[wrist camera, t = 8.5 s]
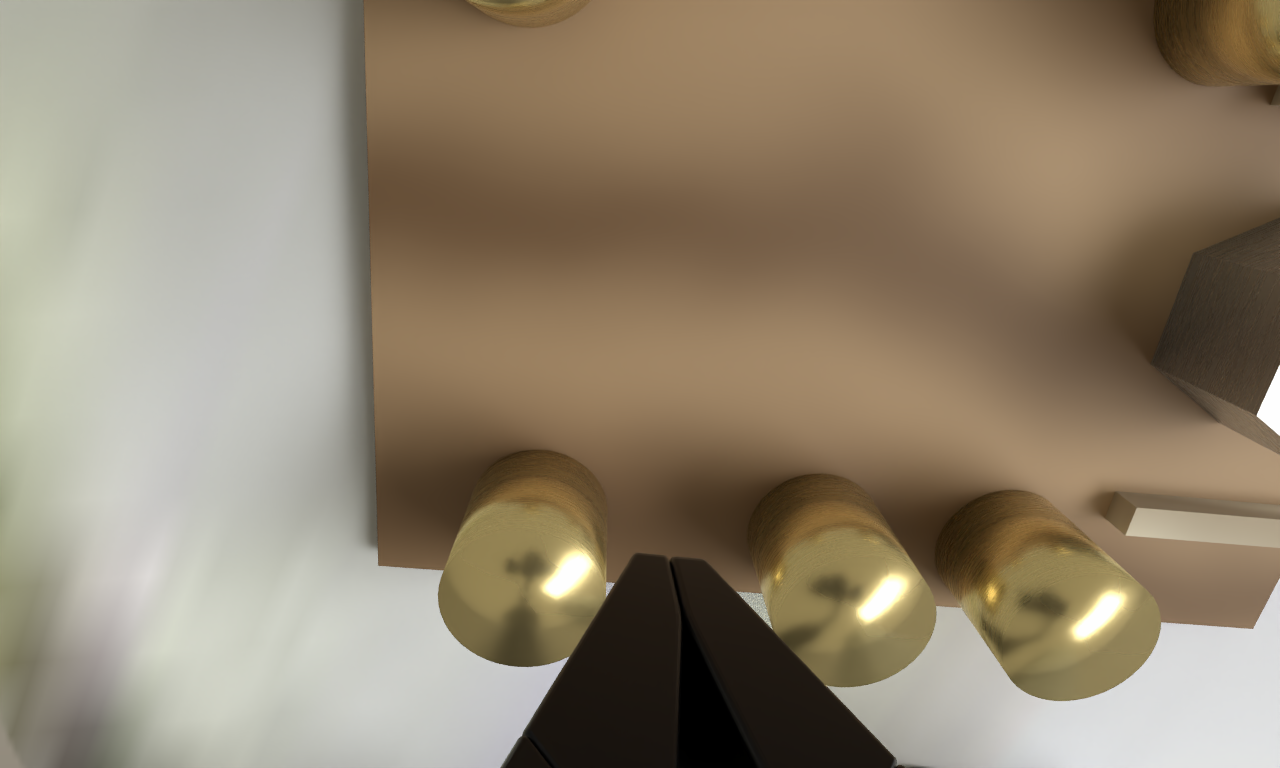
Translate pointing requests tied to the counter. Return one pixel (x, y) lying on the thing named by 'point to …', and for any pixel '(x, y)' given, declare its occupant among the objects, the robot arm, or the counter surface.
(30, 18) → the counter surface
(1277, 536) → the walnut board
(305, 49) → the counter surface
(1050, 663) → the brass spacers
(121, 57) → the counter surface
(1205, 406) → the steel nut
